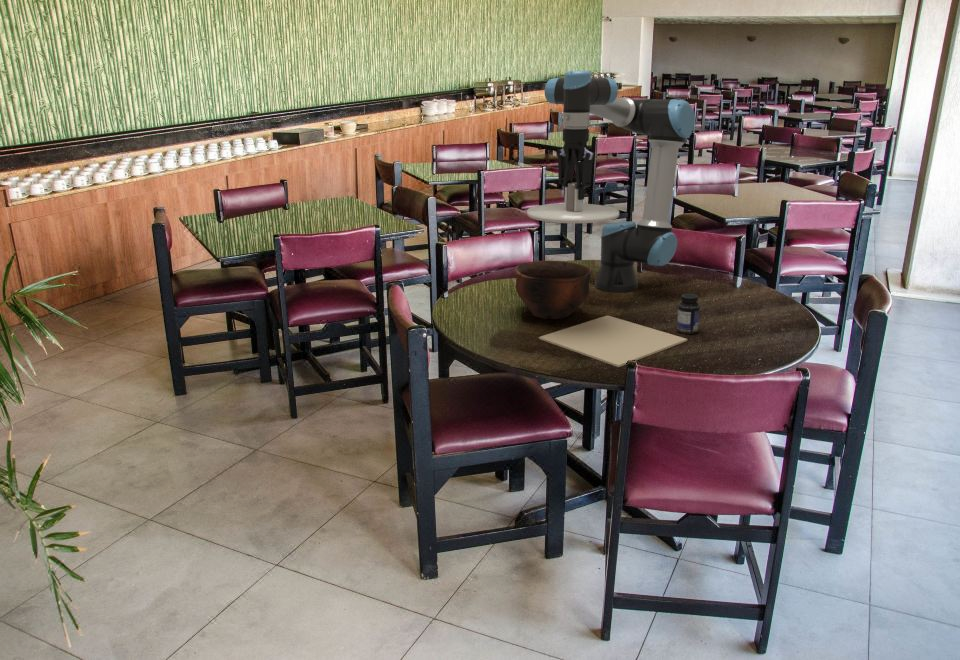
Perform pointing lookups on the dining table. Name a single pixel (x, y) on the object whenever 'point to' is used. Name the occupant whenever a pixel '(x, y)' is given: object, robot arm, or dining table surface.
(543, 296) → the bowl
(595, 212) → the lid
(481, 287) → the dining table surface
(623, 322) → the mat
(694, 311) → the pill bottle
